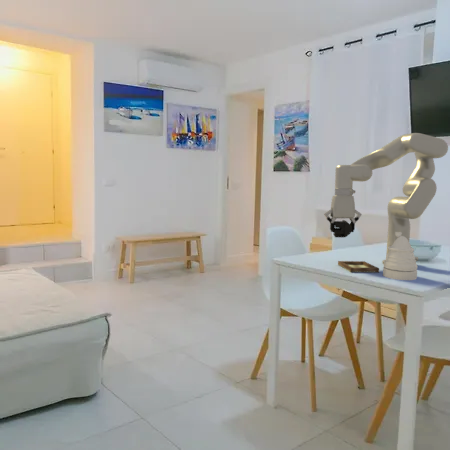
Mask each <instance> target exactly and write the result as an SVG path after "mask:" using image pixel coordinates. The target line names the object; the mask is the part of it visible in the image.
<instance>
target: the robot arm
mask: <svg viewBox="0 0 450 450" xmlns="http://www.w3.org/2000/svg"><path fill="white" fill-rule="evenodd" d="M448 151H449V145H448V143H447V142H446V140H444V139H442V138H440V137H437V136H436V137H435V136H433V135H430V134H424V133H420V132H412V133H405V134H402V135H400V136H398V137H397V138H396V137H395V138H394V139H393V140H392V141H390V142H388V143H386V144H385V145H384V146H382V147H381V148H379V149H377V150H374V151H373V152H370V153H368V154H367V155H364V156H362V157H361V158H359V159H357V160H355V161H354V162H352V163H351V164H338V165H337V166H336V167H335V179H334V182H335V183H334V195H332V198H331V202H330V203H331V204H330V209H329V210H327V211H325V212H324V213H323V215H324V217H325V218H326V220H327V221H328V222H329V224H330V225H329V230H330V232H332V233H334V232H335V223H334V221H336V220H337V219H349V221H350V222H349V224H350V225H351V227H352V231H351V233H354V231H355V228H356V227H355V224H356V223H357V222H358V220H359V219H360V217H362V213H361V212H360V211H358V210H357V209H356V205H355V198H354V195H353V194H355V193H356V190H354V189H353V183H354V182H360V183H361V182H367V181H368V180H370V179H371V178H372V176H373V170H376V169H380V168H385V167H388V166H390V165H392V164H394V163H395V162H397V161H399V160H400V159H401V158H403V157H404V156H406V155H407V154H410V153H414V156H415V158H416V160H415V161H416V165H415V167H414V169H413V170H412V173H410V175H409V177H408V178H407V180H406V181H405V183H404V185H403V187H402V193H403V195H404V196H395V197H393V198H391V199H390V200H389V202H388V203H387V217H388V218H387V219H388V220H387V221H388V225H387V226H388V228H387V240H386V253H385V254H386V257H387V254H388V253H389V251H390V250H389V249H388V247H389V246H392V245H393V243H394V242H395V240H396V239H397V238H398V237H397V236H396V235H395V232H402V234H401V236H404V237H406V238H407V240H408V241H409V242H410V238H411V237H410V236H411V223H410V222H411V221H410V220H415V219H418V218H420V217H421V216H422V214H424V212H425V211H426V209H427V208H428V206H429V205H430V203H431V201H432V200H433V199H434V197H435V195H436V193H437V183H436V181H435V180H434V179H433V177H434V175H435V170H436V166H435V162H434V161H435V159H441V158H443V157H444V156H446V155H447V153H448ZM330 217H331V218H330ZM386 257H385V258H386ZM385 260H386V259H382V261H381V263H382V264H383V265H384V261H385ZM415 260H416V262H418V261H419V257H417V256H415Z"/></svg>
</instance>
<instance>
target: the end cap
mask: <svg viewBox="0 0 450 450" xmlns="http://www.w3.org/2000/svg"><path fill="white" fill-rule="evenodd" d="M334 223H335V232H332V233H333V237H334V238H346V237H348V236H350V234H351V233H352V232H351V231H352V227H351V225H350V222H348V221H347V220H344V219H342V221H341V220H340V221H339V220H337V221H336V220H335V221H334Z"/></svg>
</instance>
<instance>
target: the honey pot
mask: <svg viewBox="0 0 450 450" xmlns="http://www.w3.org/2000/svg"><path fill="white" fill-rule="evenodd" d="M401 234H402V232H395V235H396V236H397V237H398V238H397V239H396V240H395V242H394V243H393V245H392V246H389V247H388V249H389V250H390V251H389V253H388V254H387V257H385V259H384V260H385V261H384V264H383V269H382V276H383V277H384V278H386V279H392V280H397V281H398V280H399V281H415V280H417V278H418V277H417V276H418V264H417V261H416V260H415V257H416V256H415V254H414V252H415V249H414V248H413V247H412V245H411V243H410V240H409V241H408V240H407V238H406V237H404V236H401Z"/></svg>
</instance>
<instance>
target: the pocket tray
mask: <svg viewBox="0 0 450 450" xmlns="http://www.w3.org/2000/svg"><path fill="white" fill-rule="evenodd" d="M337 266H339V267H340V268H342V269H344V270H346V271H347V272H350V273H380V268H379V267H378V266H375V265H374V264H371V263H369V262H368V261H367V262H366V261H365V260H364V261H363V260H362V261H357V260H351V261H350V260H338V261H337Z"/></svg>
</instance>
